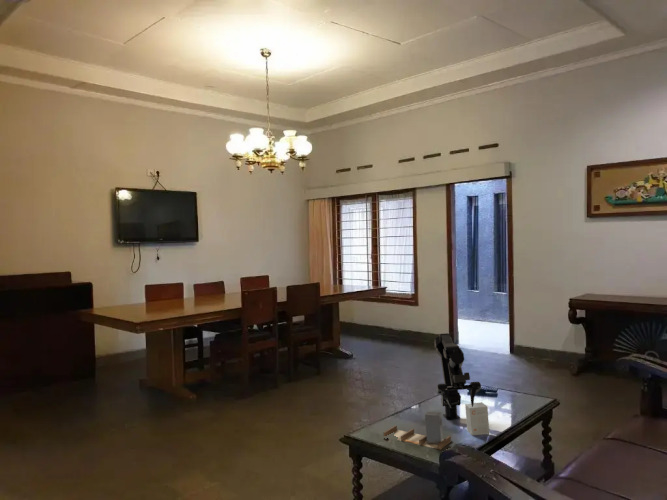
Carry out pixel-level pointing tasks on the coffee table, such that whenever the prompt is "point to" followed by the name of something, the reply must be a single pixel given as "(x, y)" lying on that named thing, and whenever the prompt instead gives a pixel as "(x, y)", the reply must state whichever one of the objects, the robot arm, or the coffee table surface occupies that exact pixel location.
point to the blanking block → (433, 428)
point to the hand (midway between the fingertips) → (461, 407)
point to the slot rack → (415, 438)
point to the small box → (477, 419)
